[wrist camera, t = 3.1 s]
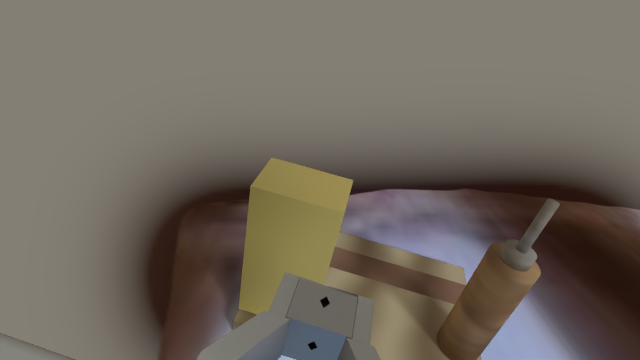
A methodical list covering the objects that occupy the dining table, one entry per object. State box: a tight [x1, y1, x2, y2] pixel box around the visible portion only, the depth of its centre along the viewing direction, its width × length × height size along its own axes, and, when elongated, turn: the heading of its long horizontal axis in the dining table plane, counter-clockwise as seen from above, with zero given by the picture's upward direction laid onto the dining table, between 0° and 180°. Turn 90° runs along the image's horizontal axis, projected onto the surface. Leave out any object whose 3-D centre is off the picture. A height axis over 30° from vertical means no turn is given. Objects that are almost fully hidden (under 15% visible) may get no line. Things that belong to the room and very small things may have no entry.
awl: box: [436, 199, 560, 360], centre depth 25 cm, size 3×3×15 cm
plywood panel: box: [232, 232, 481, 360], centre depth 32 cm, size 20×14×1 cm
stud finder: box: [239, 158, 353, 315], centre depth 26 cm, size 4×6×12 cm
